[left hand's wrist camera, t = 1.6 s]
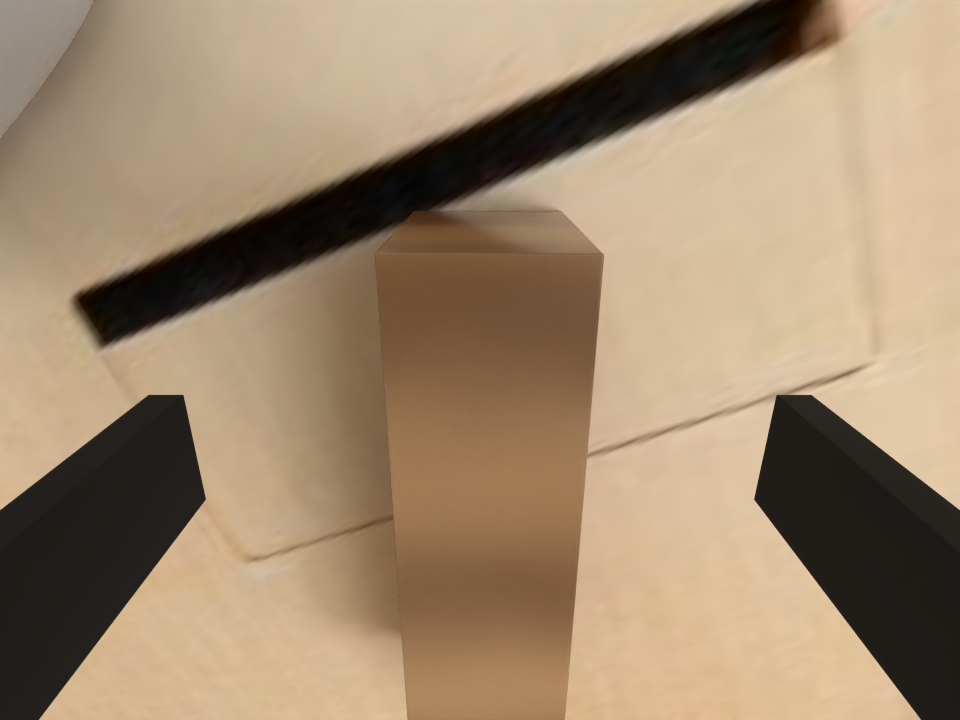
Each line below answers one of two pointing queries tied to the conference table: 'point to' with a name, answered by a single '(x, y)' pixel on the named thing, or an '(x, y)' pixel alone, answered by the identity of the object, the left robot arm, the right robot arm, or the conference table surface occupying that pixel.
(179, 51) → the conference table surface
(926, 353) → the conference table surface
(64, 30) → the projector
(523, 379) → the bar
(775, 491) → the left robot arm
